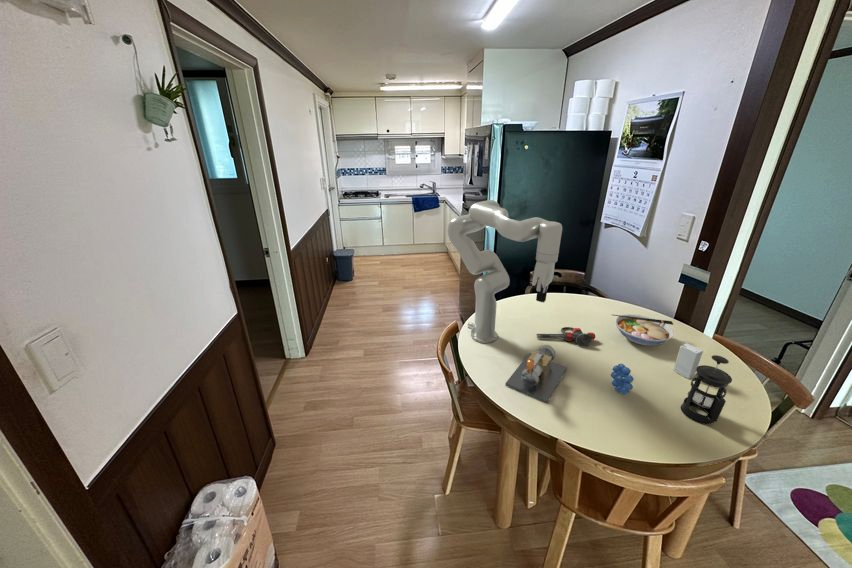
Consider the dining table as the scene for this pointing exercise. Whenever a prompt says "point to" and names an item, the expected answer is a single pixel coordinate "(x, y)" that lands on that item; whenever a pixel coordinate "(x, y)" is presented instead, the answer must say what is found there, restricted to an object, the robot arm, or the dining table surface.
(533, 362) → the lever
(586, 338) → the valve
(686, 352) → the skincare box
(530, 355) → the valve body
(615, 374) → the grapes
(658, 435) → the dining table surface
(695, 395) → the french press
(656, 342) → the ramen bowl
